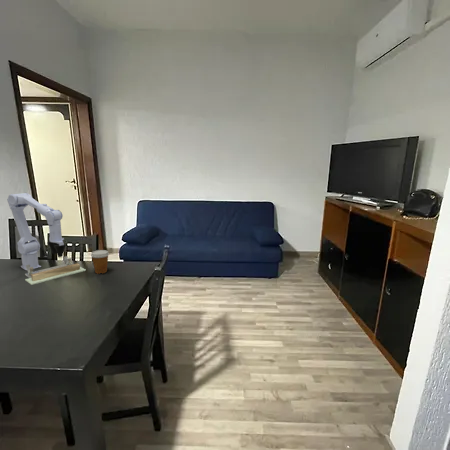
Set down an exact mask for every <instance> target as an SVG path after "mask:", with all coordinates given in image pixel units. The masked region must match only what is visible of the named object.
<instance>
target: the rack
mask: <svg viewBox="0 0 450 450" xmlns="http://www.w3.org/2000/svg"><path fill="white" fill-rule="evenodd" d="M63 261H64V262H65V264H61V265H55V266H51V267H48V268H44V269H43V268H42V269H38V270H35V271H34V269H33V267H30V265H29V264H28V265H26V270H25V271H27V272H26V273H24V275H25V276H26V277H27V278H31V274H35V273H39V272H43V271H47V270H51V269H56V268H60V267H64V266H68V265H71V263H72V258H71V257H68V256H67V255H65V256H63Z"/></svg>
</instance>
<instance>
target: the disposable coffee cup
mask: <svg viewBox="0 0 450 450" xmlns="http://www.w3.org/2000/svg"><path fill="white" fill-rule="evenodd" d="M90 255H91V258H92V262H93V263H92V265H93V268H94V272H95V274H97V275H98V274H100V273H102V274H105V273H107V271H108V264H109V263H108V262H109V255H110V253H109V251H108V250H105V249H97V250H93V251H92V252H91V253H90Z"/></svg>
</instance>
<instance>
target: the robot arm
mask: <svg viewBox="0 0 450 450" xmlns="http://www.w3.org/2000/svg"><path fill="white" fill-rule="evenodd" d="M7 203H8V206H9V209H10V211H11V213H12V216H13V219H14V222H15V225H16V228H17V232H18V234H19V237H20V239H18V241H17V243H16V244H17V251H18V253H19V254H20V255H21V258H20V259H21V264H22V265H20V267H21V268H22V269H23V270H25V271H27V270H26V265H28V264H29V265H30V267H33V270H35V269H38V268H42V265H40V264H39V258H38V252H39V250H40V248H41V244H40V242H39V241H38V239H37V237H35V236H32V233H31V230H30V228H29V224H28V222H27V218H26V215H25V212H24V209H26V208H27V206H30V207H32V208H34V209H35V210H36V212H37V213H38V214H39V215H41V216H43V217H44V218H45V220H46V221H47V225H48V231H49V239H48V240H49V241H48V242H47V243H46V244H47V245H48V247H49V248H50V251H51V253H52V255H55V254H57V257H58V258H62V257H64V256H63V255H64V250H65V248H66V246H67V244H66V243H64V241H65V238H64V237H62V223H61V220H62V219H63V213H62V211H61V210H60V209H54V208H52V207H50V206H49V205H48V204H47V203H40V202H39V201H37V199H34V198H33V195H32V194H30V193H28V192H24V193H11V194H9V195H8V197H7Z"/></svg>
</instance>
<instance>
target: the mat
mask: <svg viewBox="0 0 450 450" xmlns="http://www.w3.org/2000/svg"><path fill="white" fill-rule="evenodd" d="M86 271H87V270H86V268H83V267H82V266H80V269H79V270H75V271H72V272H68V273H64V274H60V275H56V276H52V277H48V278H44V279H41V280H37V281H33V280H32V279H31V278H29V277H27V278H25V279H24V280H25V282H27V283H28V284H30V285H31V286H32V285H38V284H40V283H44V282H48V281H52V280H55V279H59V278H64V277H68V276H71V275H74V274H78V273H82V272H86Z"/></svg>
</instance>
